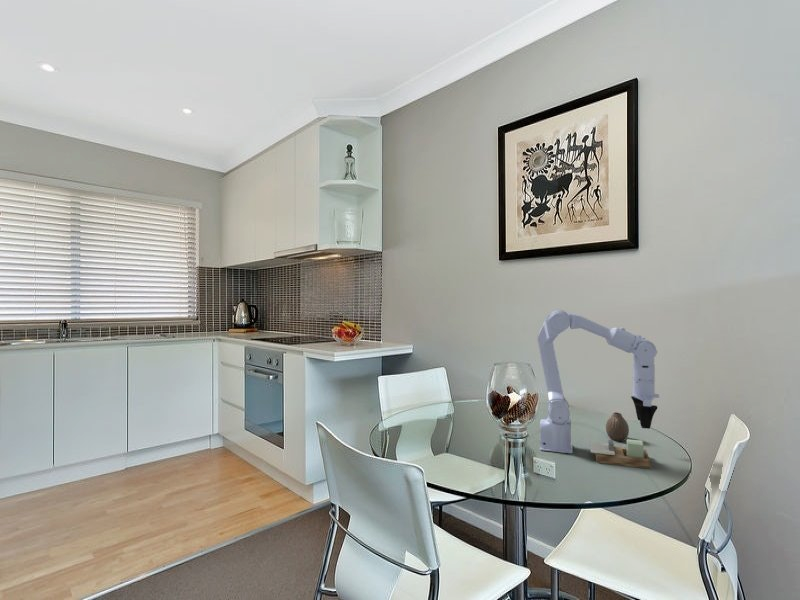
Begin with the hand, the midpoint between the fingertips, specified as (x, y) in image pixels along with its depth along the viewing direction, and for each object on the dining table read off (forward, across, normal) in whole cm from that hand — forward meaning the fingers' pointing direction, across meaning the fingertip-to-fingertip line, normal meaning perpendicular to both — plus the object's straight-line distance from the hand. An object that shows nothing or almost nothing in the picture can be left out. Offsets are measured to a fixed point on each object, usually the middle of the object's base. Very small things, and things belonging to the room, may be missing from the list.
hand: (643, 424), depth 131 cm
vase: (+10, +14, +6) cm, 18 cm away
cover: (+7, -4, +12) cm, 15 cm away
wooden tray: (+10, -4, +6) cm, 13 cm away
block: (+9, -4, +3) cm, 11 cm away
